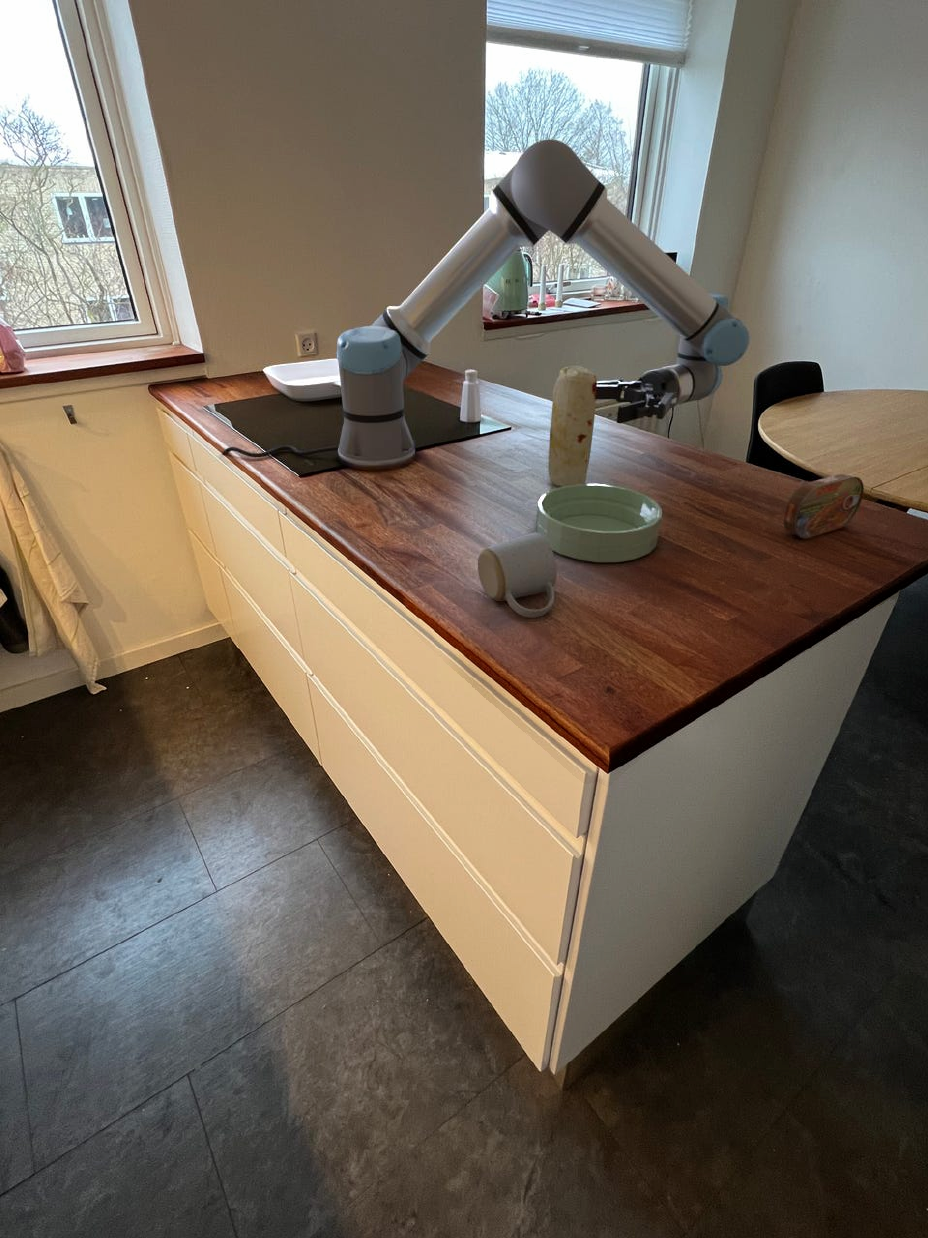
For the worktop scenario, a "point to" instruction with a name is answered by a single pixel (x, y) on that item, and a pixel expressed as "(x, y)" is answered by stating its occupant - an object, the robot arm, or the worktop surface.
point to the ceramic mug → (519, 571)
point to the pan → (306, 379)
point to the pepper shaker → (470, 398)
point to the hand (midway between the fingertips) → (588, 406)
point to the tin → (823, 505)
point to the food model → (572, 425)
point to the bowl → (598, 522)
